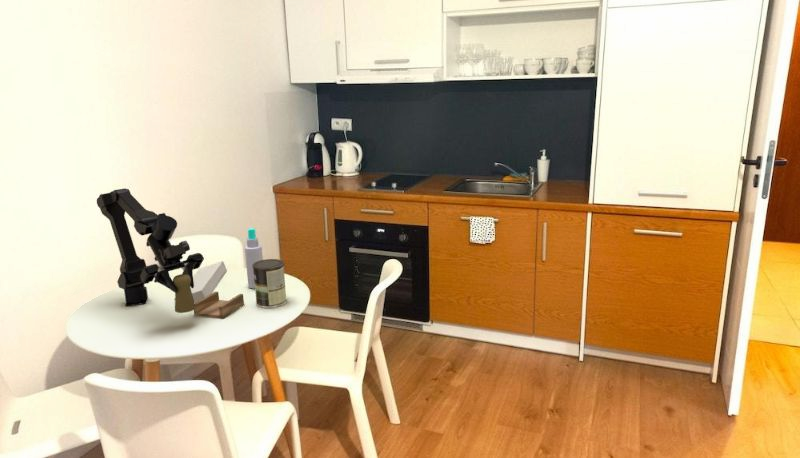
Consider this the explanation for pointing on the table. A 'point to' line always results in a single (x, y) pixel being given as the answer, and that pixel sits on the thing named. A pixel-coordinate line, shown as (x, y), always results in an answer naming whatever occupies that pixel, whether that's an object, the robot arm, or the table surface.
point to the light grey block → (207, 280)
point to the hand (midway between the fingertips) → (185, 289)
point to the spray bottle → (252, 255)
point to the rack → (217, 306)
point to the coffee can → (269, 283)
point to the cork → (183, 294)
